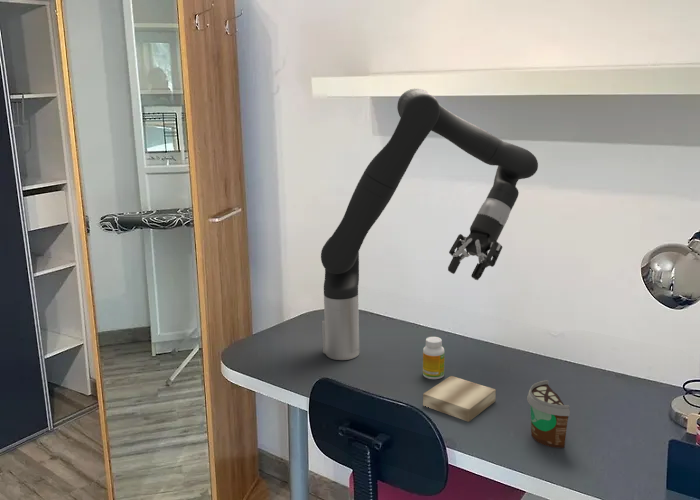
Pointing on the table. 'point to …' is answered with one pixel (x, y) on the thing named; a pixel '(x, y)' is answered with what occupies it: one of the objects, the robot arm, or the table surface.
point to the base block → (459, 398)
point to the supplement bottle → (433, 358)
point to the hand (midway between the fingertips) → (462, 275)
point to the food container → (547, 415)
